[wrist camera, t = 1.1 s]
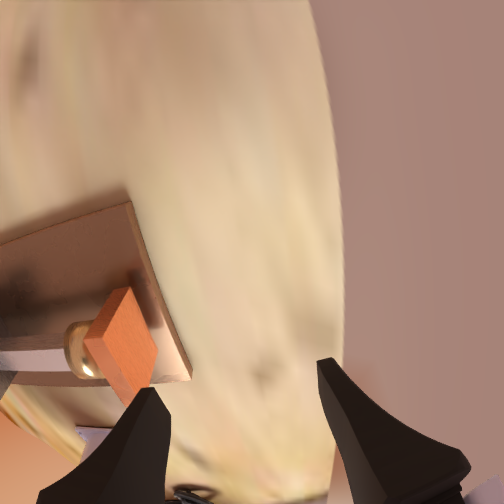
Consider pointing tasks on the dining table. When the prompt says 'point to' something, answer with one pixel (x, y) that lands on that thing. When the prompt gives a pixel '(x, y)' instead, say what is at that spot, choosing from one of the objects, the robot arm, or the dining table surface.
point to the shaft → (93, 348)
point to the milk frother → (188, 498)
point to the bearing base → (82, 290)
